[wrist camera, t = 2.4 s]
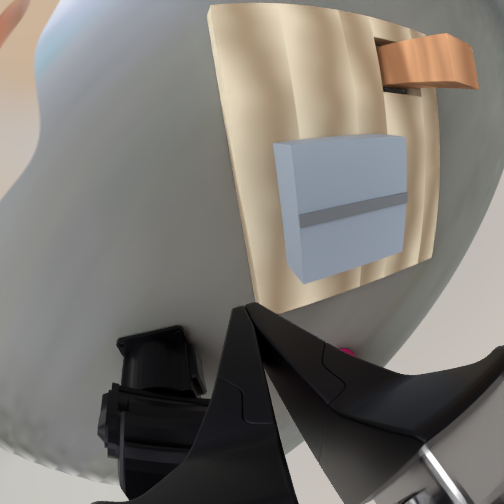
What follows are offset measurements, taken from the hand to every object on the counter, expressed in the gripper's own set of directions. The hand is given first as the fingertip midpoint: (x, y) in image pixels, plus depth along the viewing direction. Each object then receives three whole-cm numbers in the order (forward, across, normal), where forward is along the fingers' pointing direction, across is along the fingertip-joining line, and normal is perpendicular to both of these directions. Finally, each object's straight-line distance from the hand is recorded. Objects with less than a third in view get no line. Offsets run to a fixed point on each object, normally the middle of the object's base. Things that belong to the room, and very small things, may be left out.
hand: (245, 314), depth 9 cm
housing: (+10, -9, 0) cm, 14 cm away
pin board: (+12, -12, -3) cm, 18 cm away
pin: (+12, -18, -10) cm, 24 cm away
